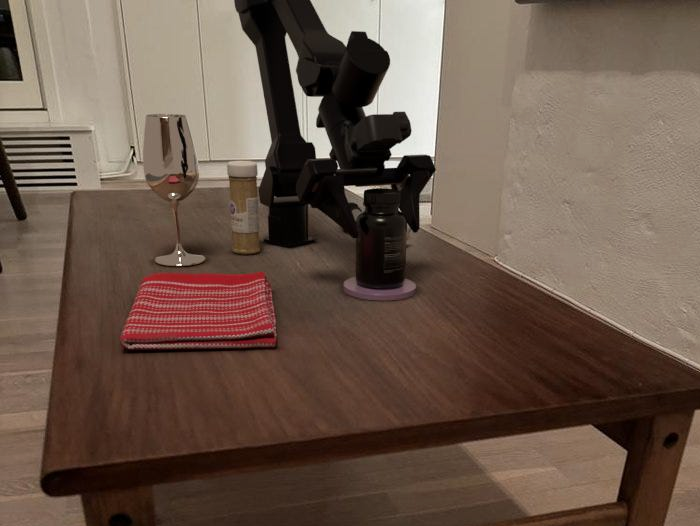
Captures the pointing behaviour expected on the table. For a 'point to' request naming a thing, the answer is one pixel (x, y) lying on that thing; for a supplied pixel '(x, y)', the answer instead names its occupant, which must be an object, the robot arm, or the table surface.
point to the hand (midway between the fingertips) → (387, 233)
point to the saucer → (379, 291)
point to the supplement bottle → (381, 240)
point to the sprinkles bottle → (244, 206)
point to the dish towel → (201, 312)
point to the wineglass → (171, 172)
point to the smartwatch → (354, 210)
